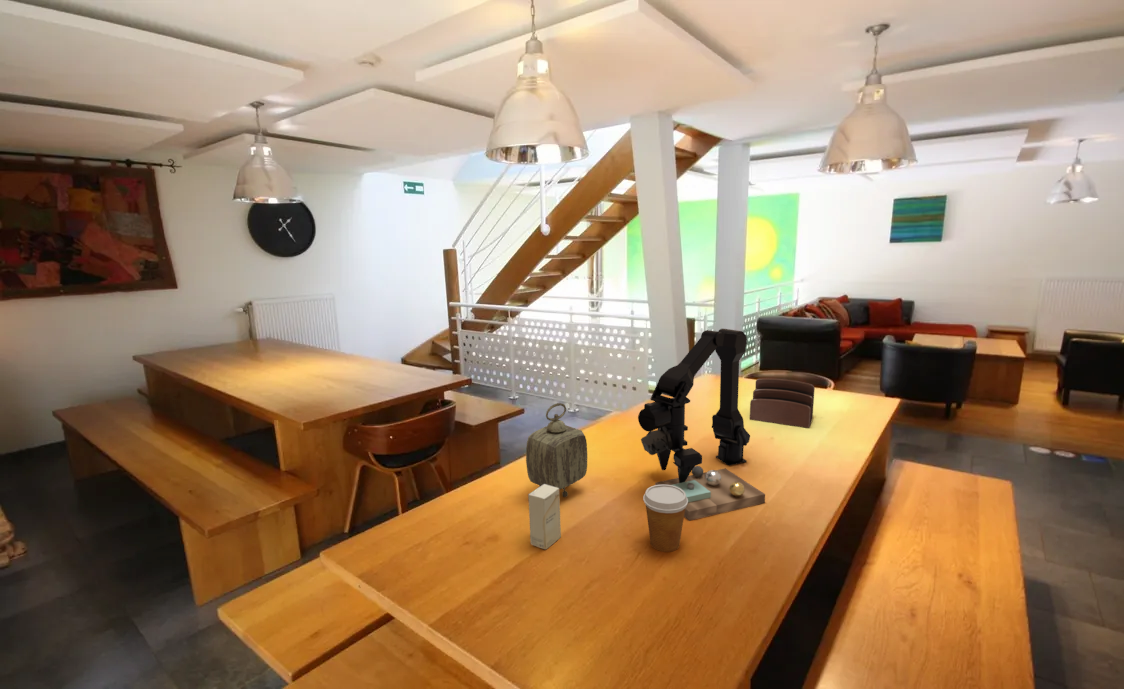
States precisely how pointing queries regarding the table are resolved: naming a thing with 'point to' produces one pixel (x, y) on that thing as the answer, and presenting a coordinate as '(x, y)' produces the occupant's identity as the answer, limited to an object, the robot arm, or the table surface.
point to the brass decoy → (736, 489)
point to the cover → (694, 490)
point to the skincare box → (544, 516)
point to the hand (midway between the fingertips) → (672, 477)
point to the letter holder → (783, 402)
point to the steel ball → (713, 477)
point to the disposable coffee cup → (665, 515)
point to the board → (719, 496)
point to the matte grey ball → (697, 471)
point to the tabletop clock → (556, 454)
